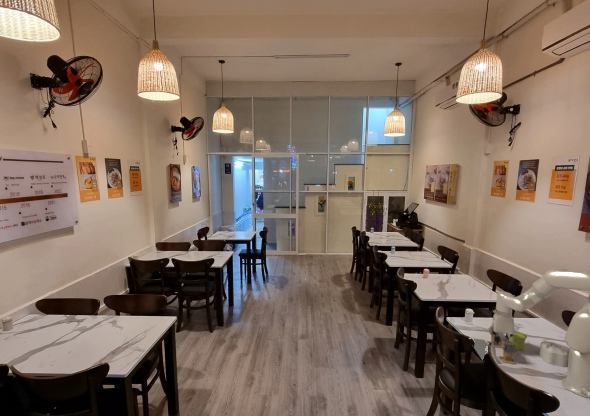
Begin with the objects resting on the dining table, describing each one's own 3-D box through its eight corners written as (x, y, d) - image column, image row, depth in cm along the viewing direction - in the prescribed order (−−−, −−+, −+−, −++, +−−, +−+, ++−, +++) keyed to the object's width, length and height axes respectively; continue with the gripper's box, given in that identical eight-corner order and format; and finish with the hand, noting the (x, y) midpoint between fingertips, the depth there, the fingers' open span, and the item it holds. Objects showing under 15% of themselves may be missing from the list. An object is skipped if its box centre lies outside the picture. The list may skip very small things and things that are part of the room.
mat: (501, 363, 155) (501, 362, 155) (483, 361, 157) (483, 360, 157) (483, 340, 178) (483, 339, 178) (468, 338, 181) (468, 337, 181)
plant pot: (508, 349, 169) (509, 335, 169) (505, 341, 178) (506, 328, 177) (527, 353, 165) (529, 339, 164) (523, 345, 173) (524, 332, 173)
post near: (515, 364, 155) (517, 348, 154) (502, 362, 156) (503, 346, 156) (511, 359, 160) (512, 343, 159) (498, 357, 161) (499, 341, 160)
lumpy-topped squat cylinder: (544, 363, 156) (546, 348, 156) (535, 350, 168) (537, 337, 168) (568, 368, 152) (570, 353, 151) (558, 355, 164) (559, 341, 163)
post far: (502, 348, 170) (503, 333, 169) (490, 346, 172) (491, 332, 171) (498, 343, 175) (499, 329, 174) (487, 342, 177) (488, 328, 176)
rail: (514, 352, 154) (515, 346, 154) (506, 351, 155) (506, 344, 155) (497, 332, 175) (497, 326, 175) (489, 332, 176) (490, 326, 176)
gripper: (490, 314, 162) (487, 344, 164) (523, 318, 158) (521, 348, 159) (484, 308, 169) (482, 337, 171) (516, 312, 165) (514, 341, 167)
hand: (501, 342), depth 165 cm, fingers open, 4 cm apart
